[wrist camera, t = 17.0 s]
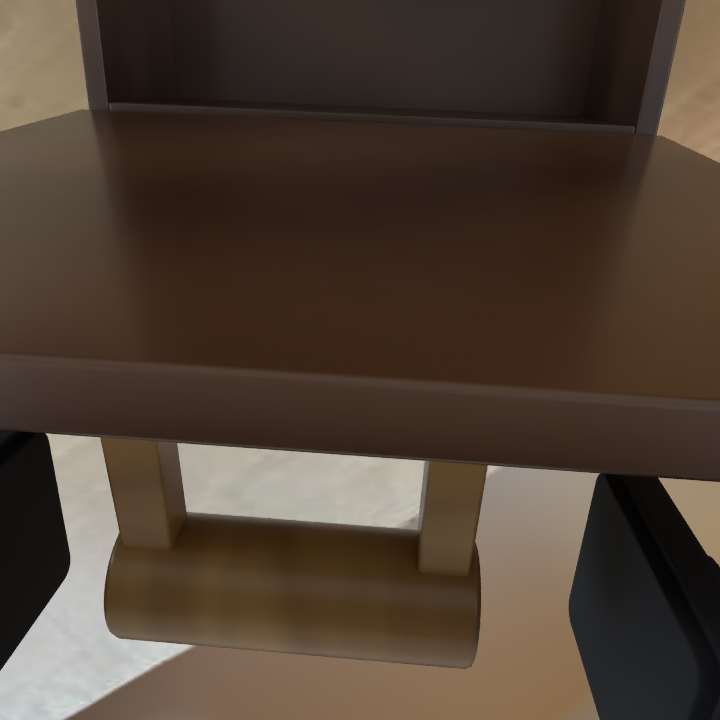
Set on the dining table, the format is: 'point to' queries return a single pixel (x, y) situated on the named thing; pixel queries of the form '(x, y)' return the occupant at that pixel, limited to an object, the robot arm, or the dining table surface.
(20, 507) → the robot arm
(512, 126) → the chest
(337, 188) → the lid
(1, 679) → the dining table surface
